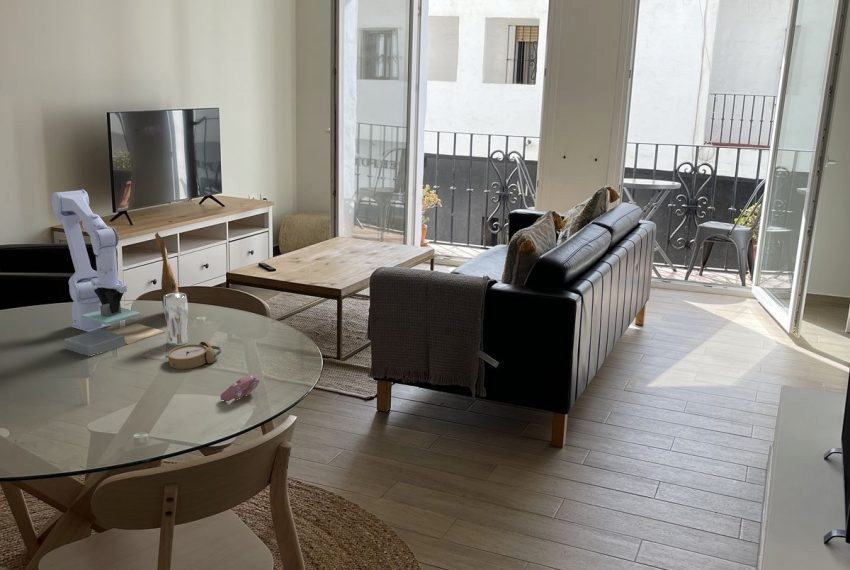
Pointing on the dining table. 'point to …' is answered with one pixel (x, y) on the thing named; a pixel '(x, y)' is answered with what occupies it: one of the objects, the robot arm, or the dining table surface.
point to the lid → (110, 315)
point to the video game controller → (240, 388)
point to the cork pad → (136, 332)
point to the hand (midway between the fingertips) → (111, 311)
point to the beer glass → (176, 318)
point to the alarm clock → (192, 355)
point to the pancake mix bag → (166, 271)
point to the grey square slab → (94, 342)
